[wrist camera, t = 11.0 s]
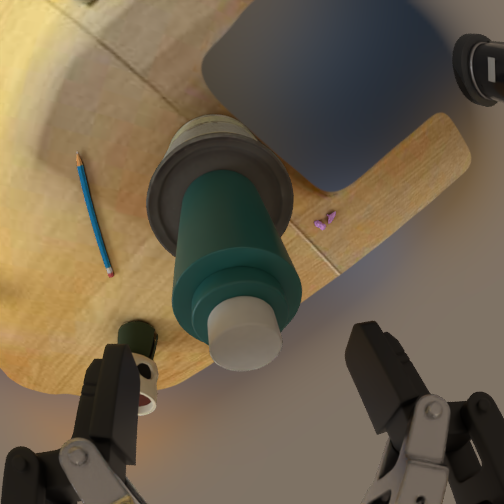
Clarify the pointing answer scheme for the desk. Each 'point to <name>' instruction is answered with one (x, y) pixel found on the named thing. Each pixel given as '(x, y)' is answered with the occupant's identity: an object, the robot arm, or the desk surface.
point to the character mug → (142, 361)
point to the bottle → (232, 272)
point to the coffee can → (210, 159)
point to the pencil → (93, 216)
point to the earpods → (322, 225)
